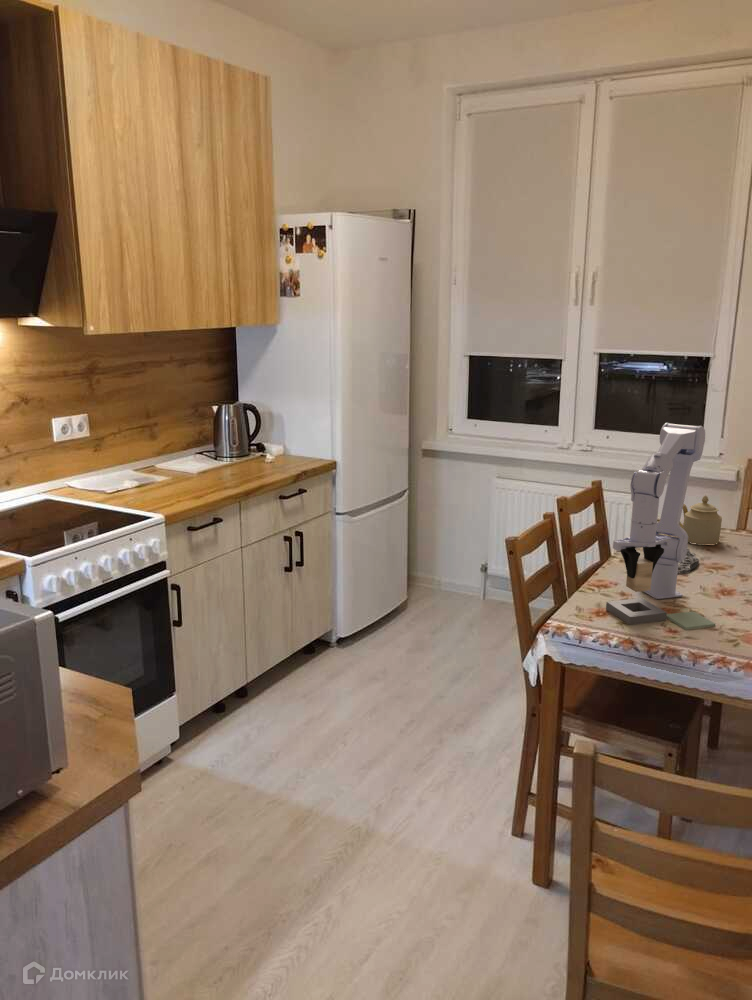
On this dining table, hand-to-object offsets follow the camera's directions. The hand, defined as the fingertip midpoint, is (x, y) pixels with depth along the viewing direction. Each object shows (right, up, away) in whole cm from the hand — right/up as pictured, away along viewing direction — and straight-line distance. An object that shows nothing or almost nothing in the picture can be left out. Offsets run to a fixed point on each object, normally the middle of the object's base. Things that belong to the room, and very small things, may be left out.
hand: (639, 576), depth 186 cm
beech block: (0, -3, +1) cm, 3 cm away
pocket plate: (0, -10, +2) cm, 10 cm away
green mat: (+12, -11, -1) cm, 16 cm away
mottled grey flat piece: (+27, 0, +44) cm, 51 cm away
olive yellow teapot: (+39, +5, +63) cm, 74 cm away
